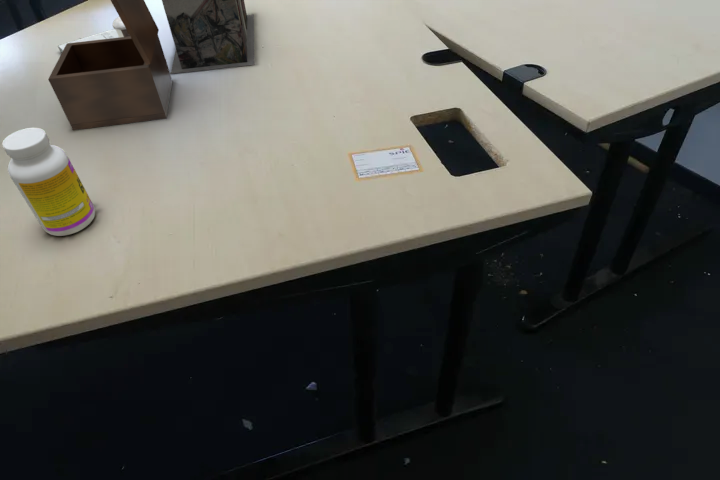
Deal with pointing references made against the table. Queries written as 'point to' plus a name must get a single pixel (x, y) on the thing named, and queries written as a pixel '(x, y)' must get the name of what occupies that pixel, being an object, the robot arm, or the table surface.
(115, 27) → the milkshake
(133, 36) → the lid
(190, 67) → the bookend
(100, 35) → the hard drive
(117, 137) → the table surface
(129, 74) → the chest
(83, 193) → the supplement bottle
